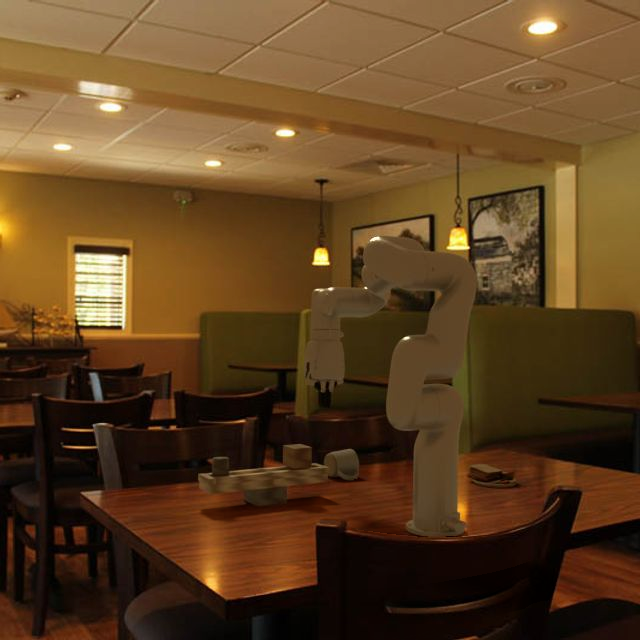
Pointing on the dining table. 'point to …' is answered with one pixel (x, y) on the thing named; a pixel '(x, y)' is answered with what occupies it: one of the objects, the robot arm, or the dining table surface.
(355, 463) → the ceramic mug
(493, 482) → the toy sandwich meal
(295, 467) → the block
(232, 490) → the beam
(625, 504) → the dining table surface
